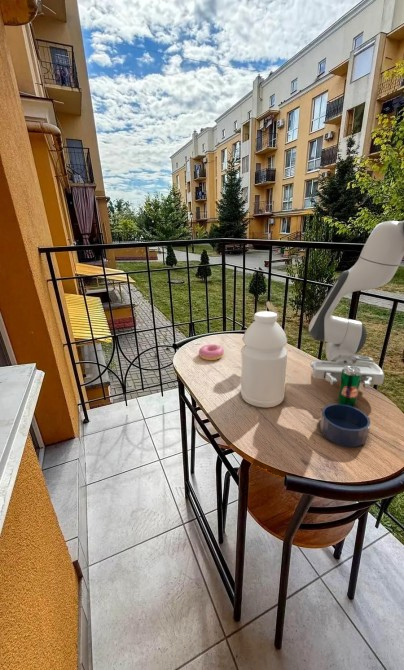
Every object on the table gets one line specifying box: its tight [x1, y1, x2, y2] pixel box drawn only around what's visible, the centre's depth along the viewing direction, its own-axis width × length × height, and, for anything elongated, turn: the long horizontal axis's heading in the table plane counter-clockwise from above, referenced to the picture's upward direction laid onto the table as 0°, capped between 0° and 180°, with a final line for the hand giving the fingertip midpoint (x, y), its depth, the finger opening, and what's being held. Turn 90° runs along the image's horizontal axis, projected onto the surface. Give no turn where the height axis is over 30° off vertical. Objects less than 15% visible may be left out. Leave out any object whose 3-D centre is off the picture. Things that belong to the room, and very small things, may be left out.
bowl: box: [319, 403, 371, 448], centre depth 73 cm, size 11×11×5 cm
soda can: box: [337, 366, 361, 407], centre depth 84 cm, size 5×5×12 cm
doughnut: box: [198, 343, 225, 361], centre depth 121 cm, size 11×11×4 cm
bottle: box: [240, 310, 289, 408], centre depth 87 cm, size 14×14×28 cm
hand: (350, 384), depth 83 cm, fingers open, 8 cm apart
